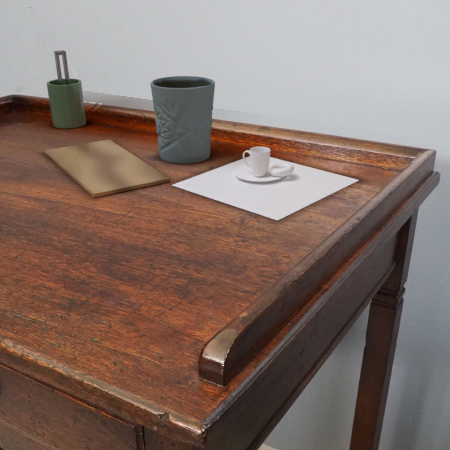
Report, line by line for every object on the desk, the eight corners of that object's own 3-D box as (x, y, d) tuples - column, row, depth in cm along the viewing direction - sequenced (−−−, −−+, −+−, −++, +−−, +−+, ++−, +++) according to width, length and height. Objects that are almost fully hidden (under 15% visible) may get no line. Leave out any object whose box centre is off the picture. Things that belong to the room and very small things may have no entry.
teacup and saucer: (300, 175, 95) (302, 149, 92) (268, 189, 90) (268, 162, 87) (256, 163, 100) (256, 138, 98) (223, 176, 95) (223, 150, 92)
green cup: (59, 130, 118) (52, 86, 114) (49, 122, 123) (42, 80, 118) (91, 125, 121) (85, 82, 116) (80, 118, 125) (74, 77, 121)
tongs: (65, 122, 120) (55, 52, 114) (63, 121, 121) (53, 51, 115) (75, 121, 121) (65, 51, 115) (73, 120, 122) (63, 50, 115)
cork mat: (94, 197, 88) (93, 193, 87) (44, 153, 105) (43, 150, 105) (169, 182, 93) (169, 178, 93) (110, 142, 111) (109, 139, 110)
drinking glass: (143, 159, 102) (137, 84, 96) (176, 143, 110) (173, 72, 104) (196, 168, 98) (193, 90, 92) (226, 151, 105) (226, 78, 99)
